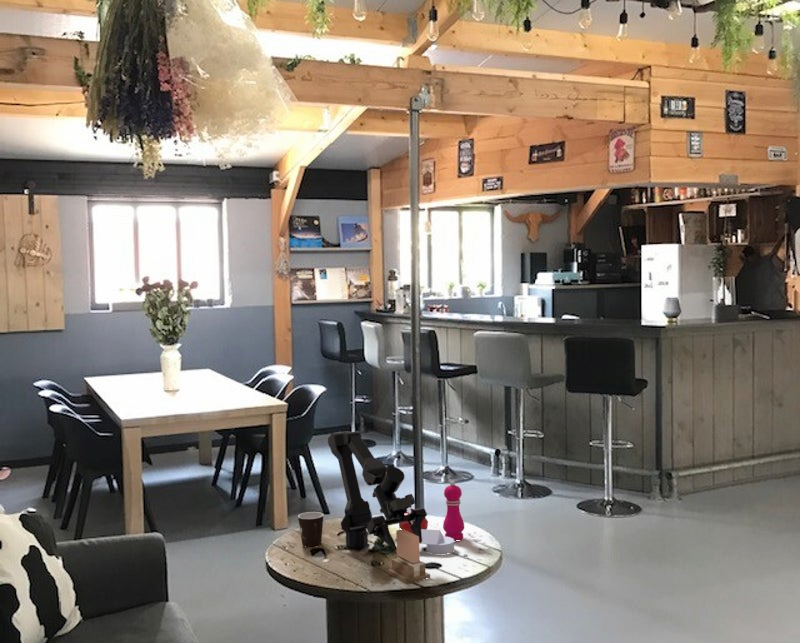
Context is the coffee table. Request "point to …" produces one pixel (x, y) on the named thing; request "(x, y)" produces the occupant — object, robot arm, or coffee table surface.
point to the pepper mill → (453, 513)
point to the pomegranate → (407, 526)
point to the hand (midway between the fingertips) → (408, 545)
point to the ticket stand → (407, 570)
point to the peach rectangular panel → (408, 546)
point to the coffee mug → (311, 528)
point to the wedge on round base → (437, 542)
